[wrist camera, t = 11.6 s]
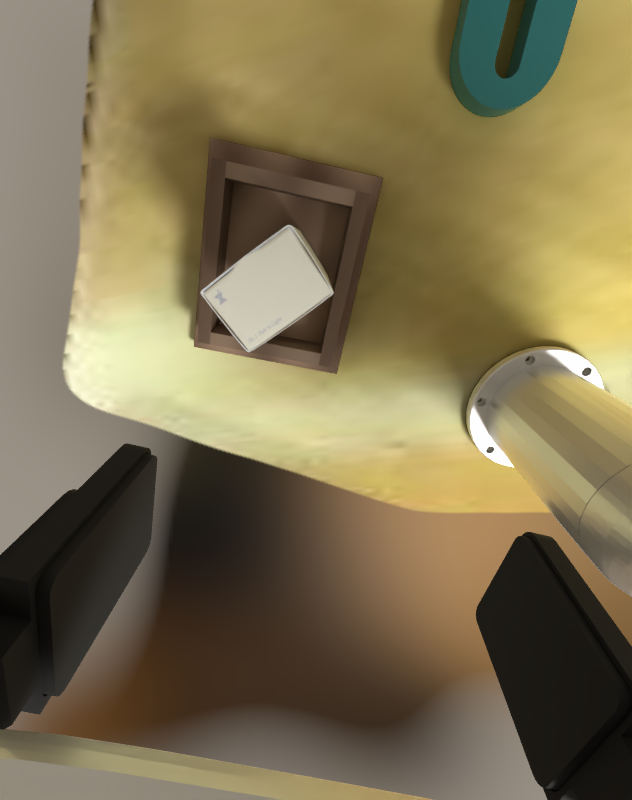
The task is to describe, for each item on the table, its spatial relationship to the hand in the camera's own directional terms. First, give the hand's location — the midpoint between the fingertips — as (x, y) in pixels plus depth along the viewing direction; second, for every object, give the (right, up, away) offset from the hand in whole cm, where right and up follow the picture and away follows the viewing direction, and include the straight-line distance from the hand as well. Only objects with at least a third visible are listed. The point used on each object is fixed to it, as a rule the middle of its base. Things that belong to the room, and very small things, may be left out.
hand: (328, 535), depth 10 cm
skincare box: (-3, +14, +22) cm, 26 cm away
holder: (-3, +15, +23) cm, 27 cm away
